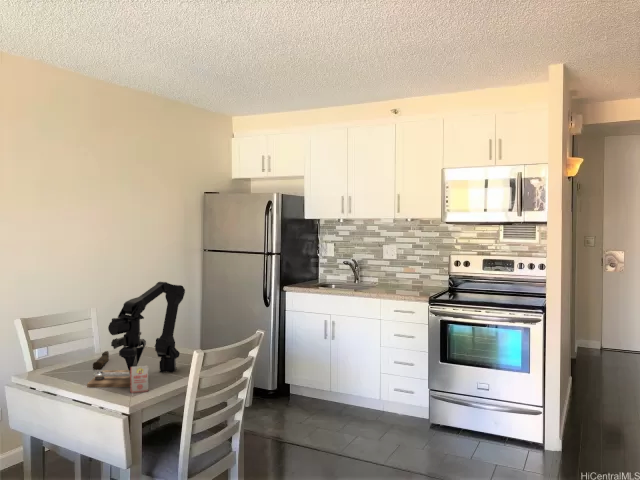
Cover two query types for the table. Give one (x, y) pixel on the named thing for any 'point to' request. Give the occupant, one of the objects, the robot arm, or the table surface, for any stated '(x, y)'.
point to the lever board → (110, 380)
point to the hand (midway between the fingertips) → (133, 367)
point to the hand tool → (101, 361)
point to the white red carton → (139, 379)
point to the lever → (114, 374)
